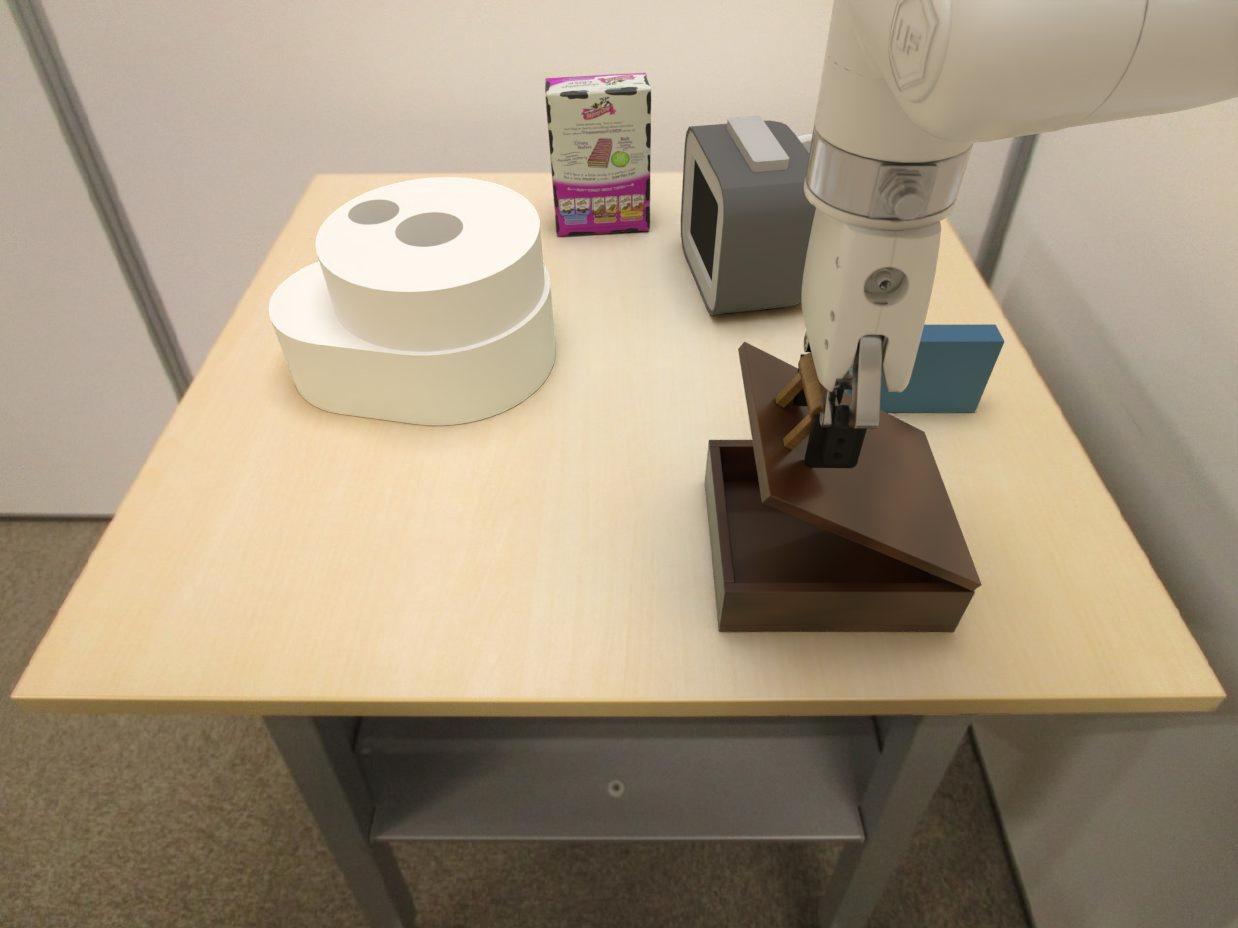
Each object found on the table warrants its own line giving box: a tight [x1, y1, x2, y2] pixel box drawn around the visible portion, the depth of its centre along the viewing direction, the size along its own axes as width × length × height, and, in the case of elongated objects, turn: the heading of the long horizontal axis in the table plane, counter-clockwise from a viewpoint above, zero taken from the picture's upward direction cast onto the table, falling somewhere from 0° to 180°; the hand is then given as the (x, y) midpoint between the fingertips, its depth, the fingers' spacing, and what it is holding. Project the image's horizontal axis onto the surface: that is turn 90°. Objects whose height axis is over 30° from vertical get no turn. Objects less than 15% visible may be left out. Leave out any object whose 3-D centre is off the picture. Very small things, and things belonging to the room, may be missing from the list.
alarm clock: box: [680, 115, 816, 316], centre depth 83 cm, size 16×11×16 cm
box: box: [704, 439, 976, 633], centre depth 61 cm, size 17×15×5 cm
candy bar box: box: [544, 72, 652, 237], centre depth 91 cm, size 11×5×16 cm, turn 95°
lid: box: [737, 341, 982, 591], centre depth 54 cm, size 17×15×5 cm
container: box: [268, 176, 557, 427], centre depth 74 cm, size 20×25×14 cm
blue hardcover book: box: [844, 323, 1006, 414], centre depth 71 cm, size 12×2×8 cm, turn 90°
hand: (823, 430), depth 53 cm, fingers closed on lid, 5 cm apart
